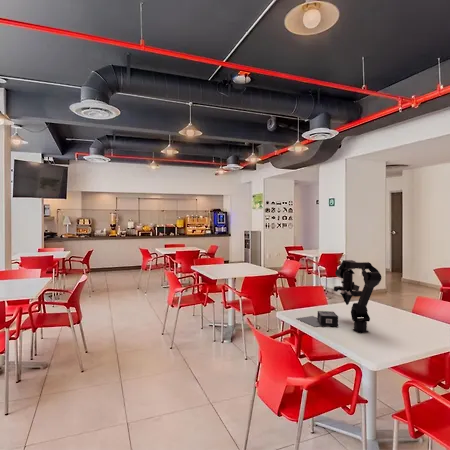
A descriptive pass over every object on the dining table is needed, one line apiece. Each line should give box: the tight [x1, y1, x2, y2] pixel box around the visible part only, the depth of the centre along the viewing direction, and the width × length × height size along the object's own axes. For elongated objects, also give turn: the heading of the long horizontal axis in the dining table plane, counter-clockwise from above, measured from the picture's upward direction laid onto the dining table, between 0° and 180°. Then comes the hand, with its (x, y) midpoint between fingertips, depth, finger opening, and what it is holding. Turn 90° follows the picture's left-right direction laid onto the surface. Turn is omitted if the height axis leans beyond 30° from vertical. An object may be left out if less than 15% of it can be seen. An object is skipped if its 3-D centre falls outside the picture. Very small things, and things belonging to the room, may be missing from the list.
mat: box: [295, 315, 323, 328], centre depth 210 cm, size 18×14×1 cm
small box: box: [316, 310, 339, 327], centre depth 205 cm, size 11×6×10 cm
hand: (347, 304), depth 207 cm, fingers closed
